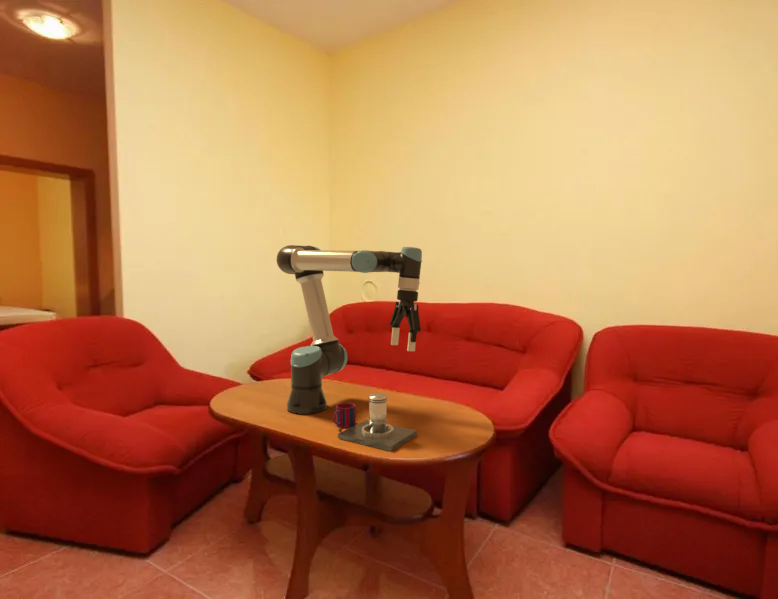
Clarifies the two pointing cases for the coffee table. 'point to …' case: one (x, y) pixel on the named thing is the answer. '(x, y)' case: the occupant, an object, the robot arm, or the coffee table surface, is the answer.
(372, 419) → the disc
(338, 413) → the mug
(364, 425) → the grey base plate
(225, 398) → the coffee table surface
